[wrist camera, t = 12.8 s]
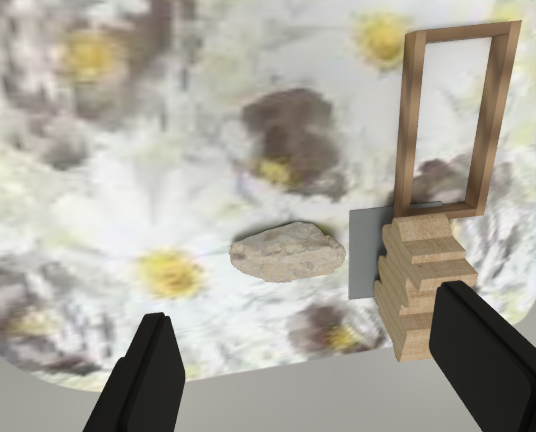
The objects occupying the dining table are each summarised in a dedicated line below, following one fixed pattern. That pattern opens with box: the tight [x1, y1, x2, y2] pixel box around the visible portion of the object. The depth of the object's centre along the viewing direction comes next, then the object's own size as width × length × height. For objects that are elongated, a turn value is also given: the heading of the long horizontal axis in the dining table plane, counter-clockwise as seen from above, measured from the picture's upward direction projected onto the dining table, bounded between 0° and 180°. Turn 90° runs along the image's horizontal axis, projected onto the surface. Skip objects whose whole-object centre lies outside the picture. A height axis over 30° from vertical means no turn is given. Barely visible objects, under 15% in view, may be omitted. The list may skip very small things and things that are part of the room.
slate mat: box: [349, 201, 442, 300], centre depth 43 cm, size 14×12×1 cm
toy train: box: [374, 213, 478, 362], centre depth 37 cm, size 6×17×10 cm, turn 5°
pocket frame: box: [393, 20, 522, 219], centre depth 35 cm, size 21×10×2 cm, turn 5°
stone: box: [229, 222, 346, 283], centre depth 38 cm, size 8×12×10 cm, turn 92°
